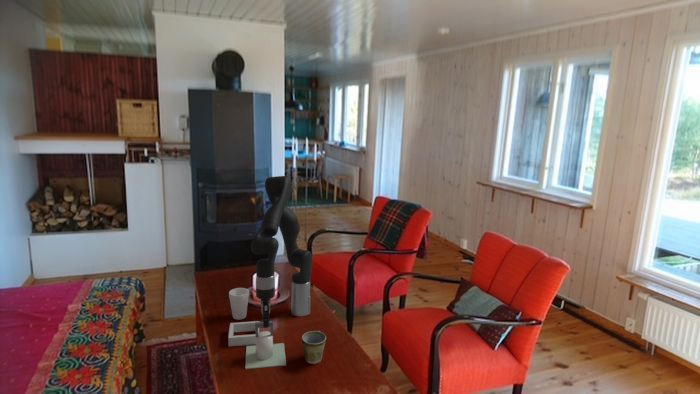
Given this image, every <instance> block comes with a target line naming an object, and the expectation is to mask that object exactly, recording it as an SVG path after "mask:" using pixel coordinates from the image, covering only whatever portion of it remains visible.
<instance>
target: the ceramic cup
mask: <svg viewBox="0 0 700 394" xmlns="http://www.w3.org/2000/svg"><path fill="white" fill-rule="evenodd" d="M325 334H326V333H324V332H323V331H322V332H321V331H320V330H319V329H318V330H313V331H311V330H310V331H307V332H305V333H303V334H302V336H301V344H302V348H303V354H304V359H305V361H306V362H307V363H308V364H312V365H315V364H318V363H320V362H321V360H322V359H323V355H324V349H325V346H326V342H327V336H326V335H325Z"/></svg>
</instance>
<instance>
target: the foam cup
mask: <svg viewBox="0 0 700 394" xmlns="http://www.w3.org/2000/svg"><path fill="white" fill-rule="evenodd" d="M228 297H229V301H230V302H229V303H230V308H231V315H232V318H233V319H234V320H238V321H240V320H244V319H245V318H247V312H248V305H249V304H248V303H249V298H250V290H249V289H248V288H245V287H236V288H232V289H230V290H229V292H228Z"/></svg>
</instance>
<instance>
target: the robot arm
mask: <svg viewBox="0 0 700 394" xmlns="http://www.w3.org/2000/svg"><path fill="white" fill-rule="evenodd" d="M264 187H265V192H266V195H267V198H268V200H269V202H270V204H271V206H270V207H269V208H268V209H267V210H266V212H265V213H264V215H263V217H262V221H261V224H260V228H259V229H258V230H257V232H256V233H255V236H254V237H253V239H252V241H251V242H250V243H251V245H250V250H251V252H252V253H253V254H254V255H257V256H268V257H266V258H262V259H259V260H257V261H256V265H255V267H256V268H255V269H256V273H255V274H256V276H255V297H256V298H257V299H258V300H260V307H261V314H262V322H263V327H264V328H263V329H265V328H266V329H268V328H270V327H269V321H270V319H271V318H270V313H271V303H272V301H271V299H273V298H274V297H275V296H276V278H275V262H276V259H277V253H278V251H279V247H280V246H279V245H280V244H279V241H278V239H277V238H276V237H275V236H277V234H278V231H280V234H281V237H282V239H283V243H284V246H285V247H284V248H285V253H286V256H287V261H288V264H289V265H290V266H291V267H294V268H297V269H299V271H298V272H294V273H293V274H292V275H291V296H290V297H291V302H290V303H291V304H290V305H291V306H290V309H291V310H290V313H291V314H292V315H293V316H295V317H305V316H308V315H311V277H312V271H313V270H312V269H313V253H312V252H311V251H310V250H306V249H302V248H299V246H298V244H297V238H298V237H299V234H300V231H301V227H300V223H299V219H298V216H297V214H296V213H295V212H294V211H293V210H292V209H291V208H289V207H288V206H287V205H288V201H290V197H291V194H292V192H293V181H292V178H291V177H290V176H288V175H278V176H269V177H267V178H266V179H265V181H264Z"/></svg>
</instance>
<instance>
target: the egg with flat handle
mask: <svg viewBox="0 0 700 394" xmlns="http://www.w3.org/2000/svg"><path fill="white" fill-rule="evenodd" d="M258 328H259V329H262V328H263V329H265V328H264V327H263V321H259V322H255V331H254V332H255V334H256V344H255V345H256V358H257V359H259V360H268V359H270V358H271V357H272V356H273V344H274V341H273V340H274V321H273V320H269V327H268V328H269V329H270V331H267V330H264V331H262V330H261V331H259V333H258Z"/></svg>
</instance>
